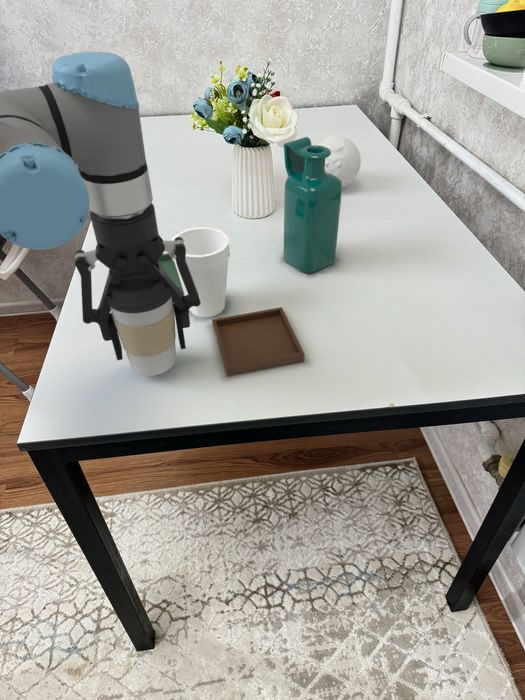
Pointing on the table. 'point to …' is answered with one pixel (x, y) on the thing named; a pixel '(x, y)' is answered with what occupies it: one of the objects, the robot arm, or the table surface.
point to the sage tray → (170, 269)
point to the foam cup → (206, 267)
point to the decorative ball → (342, 158)
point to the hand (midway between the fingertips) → (151, 348)
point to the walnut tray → (256, 341)
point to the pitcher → (310, 207)
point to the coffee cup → (145, 323)
